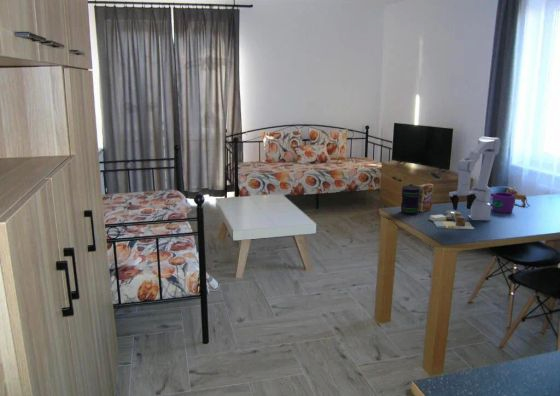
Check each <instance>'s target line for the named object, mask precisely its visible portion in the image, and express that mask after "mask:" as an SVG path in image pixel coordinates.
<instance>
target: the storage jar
mask: <svg viewBox="0 0 560 396" xmlns="http://www.w3.org/2000/svg"><path fill="white" fill-rule="evenodd" d="M419 198H420V187H418V185H417V186H416V185H403V186H402V187H401V203H400V214H401V215H403V214H404V215H403V216H408V215H410V217H412V216H411V215H415V216H418V215H419ZM417 214H418V215H417Z"/></svg>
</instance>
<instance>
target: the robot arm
mask: <svg viewBox="0 0 560 396" xmlns="http://www.w3.org/2000/svg"><path fill="white" fill-rule="evenodd" d="M501 141H502V140H501V139H500V138H499V137H489V136H480V137H479V139H478V141H477V146H476V147H475V149H474V150H472V151H470V152H468V153H467V155H466V156H465V157H464V158H463V159H461V160H458V163H457V166H456V167H457V174H458V178H457V179H458V180H457V190H455V191H449V193H448V196H449V198H450V201H451V204H452V209H453V211H457V210H458V206H459V205H458V203H459V200H460V198H459V197H460V196H461V197H462V196H464V197H465V196H466V209H467V210H470V215H469V214H468V215H467V216H468V217H469V219H470V220H471V221H491V213H492V212H491V211H492V206H491V205H490V204H491V203H490V202H491V198H492V196H491V193H492V190H491V188H490V187H489V186H488V185H489V184H488V183H489V179H490V178H491V177H490V176H491V172H492V168H493V165H494V162H495V157H496V156H497V155H499V152H500V149H501V145H502V143H501ZM482 154H483V155H484V158H483V161H482V165H481V169H480V173H479V177H478V181H477V183H476V184H474V185H472V187H471V182H472V181H471V177H472V172H473V171H474V169H475V166H476V163H478V161H479V160H480V159H481V155H482ZM470 187H471V188H470Z"/></svg>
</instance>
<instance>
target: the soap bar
mask: <svg viewBox="0 0 560 396" xmlns="http://www.w3.org/2000/svg"><path fill="white" fill-rule="evenodd" d="M429 220H430V221H432V222H433V221H447V219H446V216H445V215H443V214H431V215H430V216H429Z"/></svg>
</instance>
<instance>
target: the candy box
mask: <svg viewBox="0 0 560 396" xmlns="http://www.w3.org/2000/svg"><path fill="white" fill-rule="evenodd" d="M417 187H420V198H419V211H420V213H422V212H426V211H431V210H432V202H433V194H434V184H433V183H428V182H426V183H424V184H423V183H422V184H417ZM419 211H418V212H419Z"/></svg>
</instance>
